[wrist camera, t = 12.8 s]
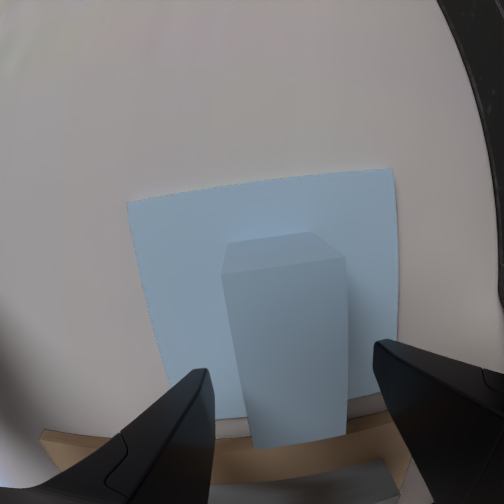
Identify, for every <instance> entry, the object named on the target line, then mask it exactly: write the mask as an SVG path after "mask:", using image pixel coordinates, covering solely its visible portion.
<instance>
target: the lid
mask: <svg viewBox="0 0 504 504" xmlns="http://www.w3.org/2000/svg"><path fill="white" fill-rule="evenodd" d="M126 205H127V211H128V217H129V223H130V228H131V234H132V239H133V244H134V249H135V254H136V259H137V264H138V268H139V273H140V277H141V282H142V286H143V291H144V295H145V299H146V303H147V307H148V311H149V315H150V319H151V322H152V326H153V330H154V334H155V337H156V341H157V344H158V348H159V351H160V355H161V358H162V361H163V365H164V368H165V371H166V374H167V378H168V381H169V384H170V387H171V388H172V387H173V386H174V385H175V384H176V383H178V382H179V381H180V380H181V379H182V378H183V377H184V376H186V375H187V374H188V373H189V372H190V371H191V370H193V369H197V368H207V369H208V370H209V373H210V377H211V381H212V385H213V389H214V394H215V419H227V418H238V417H247V418H248V423H249V427H250V432H251V437H252V442H253V446H254V450H257V449H266V448H274V447H281V446H288V445H294V444H300V443H306V442H312V441H317V440H322V439H327V438H332V437H336V436H341V435H345V434H346V423H347V402H348V400H349V399H353V398H358V397H362V396H366V395H370V394H374V393H377V392H381V391H380V388H379V386H378V383H377V380H376V378H375V375H374V373H373V367H372V364H373V346H374V343H375V342H376V341H378V340H382V339H391V340H394V341H396V336H397V317H398V232H397V213H396V199H395V187H394V177H393V169H377V170H363V171H350V172H338V173H327V174H317V175H307V176H298V177H289V178H280V179H272V180H264V181H256V182H249V183H241V184H234V185H227V186H221V187H214V188H208V189H201V190H195V191H189V192H183V193H177V194H171V195H166V196H160V197H155V198H149V199H144V200H139V201H134V202H129V203H126Z"/></svg>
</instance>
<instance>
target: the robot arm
mask: <svg viewBox="0 0 504 504" xmlns="http://www.w3.org/2000/svg"><path fill="white" fill-rule="evenodd" d="M372 367H373V373H374V375H375V378H376V380H377V383H378V386H379V388H380V391H381V393H382V396H383V399H384V401H385V404H386V406H387V409H388V411H389V413H390V416H391V418H392V419H393V421H394V423H395V425H396V427H397V429H398V431H399V433H400V435H401V436H402V438H403V440H404V442H405V444H406V446H407V448H408V450H409V452H410V454H411V456H412V458H413V460H414V461H415V463H416V465H417V467H418V469H419V471H420V473H421V475H422V477H423V479H424V481H425V483H426V485H427V487H428V489H429V491H430V493H431V495H432V497H433V499H434V502H435V504H504V374H502V373H498V372H494V371H491V370H488V369H482V368H481V367H477V366H474V365H471V364H467V363H464V362H461V361H457V360H454V359H451V358H448V357H444V356H441V355H438V354H435V353H432V352H428V351H425V350H422V349H419V348H416V347H413V346H410V345H407V344H403V343H400V342H397V341H394V340H391V339H382V340H378V341H376V342H375V343H374V346H373V364H372ZM214 451H215V394H214V389H213V385H212V381H211V377H210V373H209V370H208V369H207V368H197V369H193V370H191V371H190V372H189V373H188V374H187V375H186V376H184V377H183V378H182V379H181V380H180V381H179V382H178V383H176V384H175V385H174V386H173V387H172V388H171V389H170V390H168V391H167V392H166V393H165V394H164V395H163V396H162V397H160V398H159V399H158V400H157V401H156V402H155V403H153V404H152V405H151V406H150V407H149V408H147V409H146V410H145V411H144V412H143V413H142V414H140V415H139V416H138V417H137V418H136V419H134V420H133V421H132V422H131V423H130V424H128V425H127V426H126V427H125V428H124V429H122V430H121V431H120V433H117V434H116V435H115V436H114V437H113V438H111V439H110V440H109V441H107V442H106V443H105V444H104V445H102V446H101V447H100V448H98V449H97V450H96V451H94V452H93V453H91V454H90V455H88V456H87V457H85V458H84V459H82V460H81V461H79V462H78V463H76V464H74V465H73V466H71V467H69V468H68V469H66V470H65V471H63V472H61V473H60V474H58V475H56V476H55V477H53V478H51V479H50V480H48V481H46V482H44V483H42V484H40V485H37V486H35V487H30V488H21V489H20V488H7V487H0V504H208V498H209V490H210V482H211V474H212V466H213V459H214Z"/></svg>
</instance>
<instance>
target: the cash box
mask: <svg viewBox="0 0 504 504" xmlns="http://www.w3.org/2000/svg"><path fill="white" fill-rule="evenodd" d="M437 1H438V3H439V5H440V7H441V9H442V11H443V13H444V15H445V17H446V19H447V21H448V24H449V26H450V28H451V31H452V33H453V35H454V38H455V40H456V42H457V45H458V48H459V50H460V53H461V55H462V58H463V61H464V64H465V66H466V69H467V72H468V75H469V78H470V81H471V84H472V88H473V91H474V94H475V98H476V101H477V105H478V108H479V112H480V116H481V120H482V124H483V129H484V133H485V138H486V142H487V147H488V152H489V158H490V164H491V170H492V176H493V183H494V191H495V200H496V210H497V222H498V240H499V294H500V297H501V301H502V305H503V307H504V0H437Z"/></svg>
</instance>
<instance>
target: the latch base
mask: <svg viewBox="0 0 504 504" xmlns="http://www.w3.org/2000/svg"><path fill="white" fill-rule="evenodd" d="M110 439H111V438H103V437H93V436H84V435H76V434H69V433H62V432H56V431H50V430H45V429H44V431H43V432H42V434H41V435H40V437H39V438H38V440H39V441H40V443H41V445H42V446H43V448H44V449H45V451H46V452H47V454H48V455H49V457H50V458H51V459H52V461H53V462H54V464H55V465H56V467H57V468H58V469H59V471H60V472H63V471H65V470H66V469H68V468H69V467H71V466H73V465H74V464H76V463H78V462H79V461H81V460H82V459H84V458H85V457H87V456H88V455H90V454H91V453H93V452H94V451H96V450H97V449H98V448H100V447H101V446H102V445H104V444H105V443H106V442H107V441H109V440H110ZM410 459H411V454H410V452H409V450H408V448H407V446H406V444H405V442H404V440H403V438H402V436H401V435H400V433H399V431H398V429H397V427H396V425H395V423H394V421H393V419H392V418H391V416H390V413H389V411H388V410H386V411H383V412H379V413H376V414H372V415H368V416H364V417H360V418H356V419H352V420H348V421H347V423H346V434H345V435H341V436H336V437H332V438H327V439H322V440H317V441H312V442H306V443H300V444H294V445H288V446H281V447H274V448H266V449H257V450H254V446H253V442H252V437H242V438H230V439H215V451H214V459H213V466H212V474H211V482H210V490H209V498H208V504H397V503H398V500H399V498H400V495H401V494H400V492H399V491H400V489H401V486H402V483H403V480H404V477H405V475H406V472H407V469H408V466H409V463H410Z"/></svg>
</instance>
